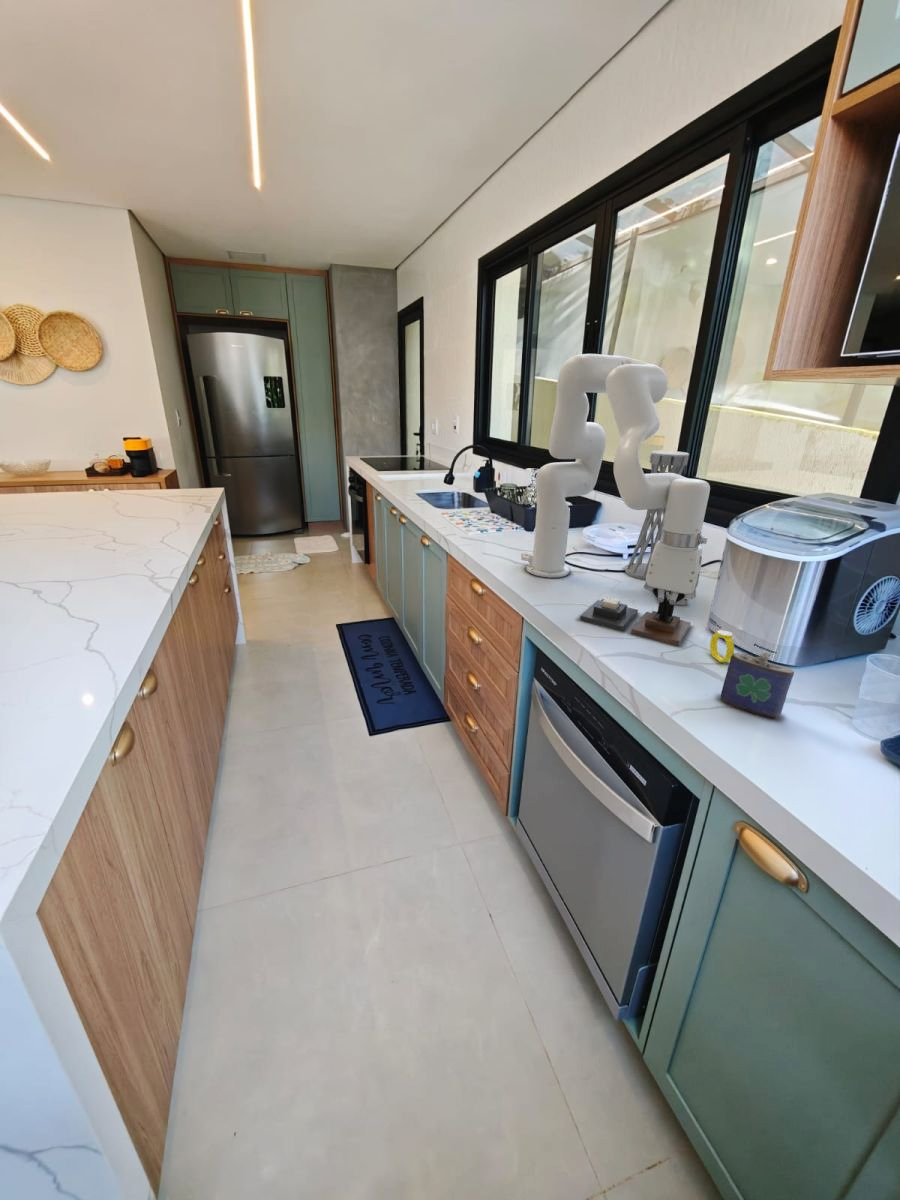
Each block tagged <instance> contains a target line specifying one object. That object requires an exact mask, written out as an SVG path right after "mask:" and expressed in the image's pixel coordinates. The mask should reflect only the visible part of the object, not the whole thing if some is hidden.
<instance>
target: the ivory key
mask: <svg viewBox="0 0 900 1200" xmlns="http://www.w3.org/2000/svg"><path fill="white" fill-rule="evenodd" d="M604 599H605V600H603V603H602V607H605V608H610V609H614V610H616V609H617V608H618V607H619V605H620V603H621V600H620V599H617V598H613V597H609V596H608V597H606V598H604Z"/></svg>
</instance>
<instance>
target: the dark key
mask: <svg viewBox="0 0 900 1200" xmlns="http://www.w3.org/2000/svg"><path fill="white" fill-rule="evenodd" d="M659 615H660V614H657V616H656V617H655V618H654V620H658V621H662V622H667V623H671V621H672V617H669V618H668V619H667V621H665V620H663V619H659Z"/></svg>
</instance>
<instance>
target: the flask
mask: <svg viewBox="0 0 900 1200" xmlns="http://www.w3.org/2000/svg"><path fill="white" fill-rule="evenodd" d="M770 657H771V654H770V653H768V652H766V651H765V652H760V654H759V656H755V657H754V656H752V655H750V654H749V655H748V654H747V652H744V653H740V652H734V654H733V655H732V656H731V659H730V661H729V662H728V667H727V670H726V674H725V677H724V681H723V685H722V690H721V692H720V698H719V700H720V701H721V702H722V703H724V704H726V705H728V706H730V707H734V708H736V709H738V710H742V711H745V712H749V713H751V714H753V715H758V716H761V717H764V718H768V719H773V720H774V719H775V720H778V719H779V718H780V717H781V716H782V712H783V709H784V705H785V703H786V700H787V695H788V693H789V689H790V686H791V684H792V680H793V677H794V674H795V671H794V670H793V669H792V668H791V667H790V666H789V667H788V666H785V665H781V664H776V663H772V662H769V661H768V660H769V658H770Z"/></svg>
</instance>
